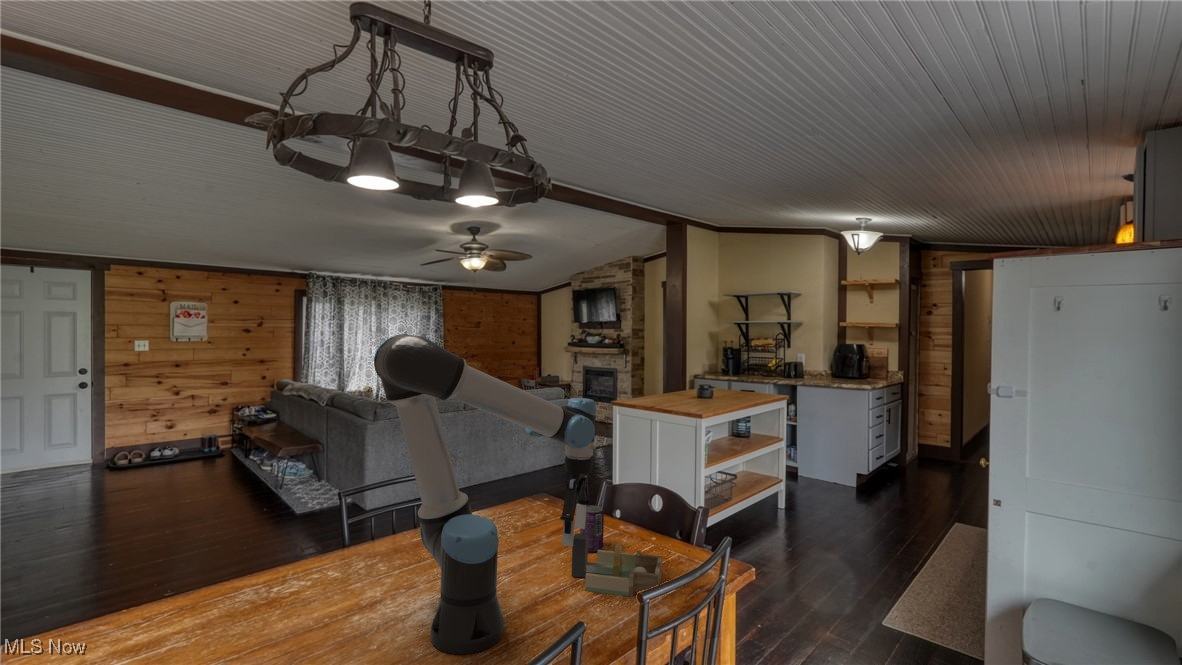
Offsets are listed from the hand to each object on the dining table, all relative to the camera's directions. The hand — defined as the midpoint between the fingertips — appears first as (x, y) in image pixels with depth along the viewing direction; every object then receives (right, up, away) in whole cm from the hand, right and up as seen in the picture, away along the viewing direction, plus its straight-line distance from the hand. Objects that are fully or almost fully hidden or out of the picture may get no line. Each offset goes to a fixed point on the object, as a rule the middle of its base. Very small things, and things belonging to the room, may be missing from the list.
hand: (574, 536), depth 142 cm
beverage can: (+5, -11, +18) cm, 21 cm away
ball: (+17, -9, -3) cm, 20 cm away
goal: (+19, -11, -4) cm, 22 cm away
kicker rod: (+6, -10, -1) cm, 12 cm away
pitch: (+10, -11, -2) cm, 15 cm away
